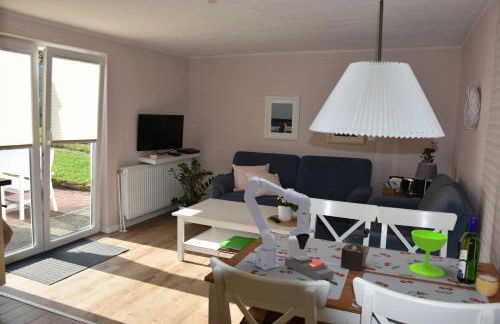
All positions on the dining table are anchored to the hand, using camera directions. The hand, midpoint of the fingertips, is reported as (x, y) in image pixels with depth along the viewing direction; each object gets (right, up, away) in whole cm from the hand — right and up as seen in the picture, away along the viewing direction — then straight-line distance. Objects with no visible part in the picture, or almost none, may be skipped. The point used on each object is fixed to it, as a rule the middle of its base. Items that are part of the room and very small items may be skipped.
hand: (301, 248), depth 192 cm
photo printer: (-1, -8, +15) cm, 17 cm away
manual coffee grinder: (+28, -10, +8) cm, 30 cm away
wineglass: (+61, -12, +4) cm, 62 cm away
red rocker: (+6, -6, -8) cm, 11 cm away
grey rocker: (0, -5, 0) cm, 4 cm away
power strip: (+4, -10, -6) cm, 13 cm away
